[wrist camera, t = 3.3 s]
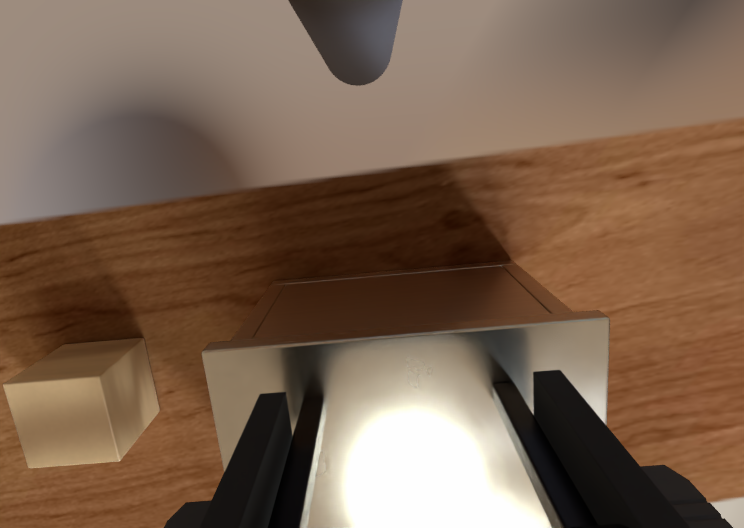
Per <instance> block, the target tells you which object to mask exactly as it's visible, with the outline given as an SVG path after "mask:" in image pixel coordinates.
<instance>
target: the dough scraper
mask: <svg viewBox="0 0 744 528" xmlns="http://www.w3.org/2000/svg"><path fill="white" fill-rule="evenodd" d="M609 334H610V319H609V317H608V316H606V315H605V314H604V313H602V312H601V311H599V310H593V311H581V312H569V313H557V314H545V315H533V316H521V317H509V318H497V319H485V320H473V321H461V322H449V323H437V324H425V325H413V326H401V327H389V328H377V329H365V330H353V331H341V332H329V333H317V334H305V335H294V336H282V337H270V338H258V339H246V340H234V341H222V342H210V343H209V344H208V345H207V346H206V347H205V348H204V350H203V351H202V358H203V364H204V369H205V374H206V379H207V384H208V390H209V395H210V400H211V405H212V410H213V416H214V421H215V426H216V431H217V437H218V442H219V447H220V452H221V457H222V463H223V468H224V472H225V470H226V468H227V466H228V463H229V461H230V459H231V457H232V454H233V452H234V450H235V448H236V446H237V443H238V441H239V439H240V437H241V435H242V432H243V430H244V428H245V426H246V423H247V421H248V419H249V417H250V415H251V412H252V410H253V408H254V406H255V403H256V401H257V399H258V397H259V395H260V394H264V393H276V392H286V395H287V402H288V409H289V415H290V422H291V429H292V436H293V437H292V440H291V444H290V448H289V451H288V455H287V459H286V462H285V466H284V470H283V473H282V477H281V481H280V484H279V488H278V492H277V495H276V499H275V503H274V506H273V510H272V513H271V517H270V521H269V524H268V528H629V527H627V526H624V525H622V524H607V525H598V524H597V522H596V520H595V519H594V517H593V515H592V514H591V512H590V510H589V508H588V507H587V505H586V503H585V502H584V500H583V498H582V497H581V495H580V493H579V491H578V490H577V488H576V486H575V485H574V483H573V481H572V480H571V478H570V476H569V475H568V473H567V471H566V469H565V468H564V466H563V464H562V463H561V461H560V459H559V458H558V456H557V454H556V452H555V451H554V449H553V447H552V446H551V444H550V442H549V441H548V439H547V437H546V435H545V434H544V432H543V430H542V429H541V427H540V425H539V424H538V422H537V420H536V419H535V417H534V406H533V372H536V371H549V370H561V371H562V372H563V374H564V375H565V376H566V377H567V379H568V380H569V381H570V382H571V383H572V385H573V386H574V387H575V388H576V389H577V391H578V392H579V393H580V394H581V396H582V397H583V398H584V399H585V400H586V402H587V403H588V404H589V405H590V406H591V408H592V409H593V410H594V411H595V413H596V414H597V415H598V416H599V417H600V419H601V420H602V421H603V422H604V423H605V425H606V424H607V394H608V364H609Z"/></svg>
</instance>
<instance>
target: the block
mask: <svg viewBox="0 0 744 528" xmlns="http://www.w3.org/2000/svg"><path fill="white" fill-rule="evenodd" d="M3 387H4V390H5V394H6V397H7V400H8V403H9V407H10V410H11V413H12V417H13V420H14V423H15V426H16V430H17V433H18V436H19V439H20V443H21V446H22V449H23V452H24V456H25V459H26V462H27V465H28V468H38V467H51V466H64V465H77V464H90V463H103V462H115V461H120V460H121V459H122V458H123V456H124V455H125V454H126V453H127V451H128V450H129V449H130V448H131V446H132V445H133V444H134V443H135V441H136V440H137V439H138V438H139V436H140V435H141V434H142V433H143V431H144V430H145V429H146V428H147V426H148V425H149V424H150V423H151V421H152V420H153V419H154V417H155V416H156V415H157V414H158V412H159V411H160V409H159V404H158V400H157V395H156V391H155V386H154V382H153V377H152V373H151V368H150V363H149V359H148V354H147V350H146V345H145V341H144V338H135V339H123V340H111V341H99V342H87V343H75V344H64V345H62V346H61V347H59V348H58V349H56V350H54V351H53V352H51V353H50V354H48V355H47V356H45V357H44V358H42V359H41V360H39V361H38V362H36V363H34V364H33V365H31V366H30V367H28V368H27V369H25V370H24V371H22V372H21V373H19V374H18V375H16V376H15V377H13V378H11V379H10V380H8V381H7V382H5V383H4V384H3Z"/></svg>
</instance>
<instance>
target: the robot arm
mask: <svg viewBox="0 0 744 528" xmlns="http://www.w3.org/2000/svg"><path fill="white" fill-rule="evenodd" d="M533 406H534V417H535V419H536V420H537V422H538V424H539V425H540V427H541V429H542V430H543V432H544V434H545V435H546V437H547V439H548V441H549V442H550V444H551V446H552V447H553V449H554V451H555V452H556V454H557V456H558V458H559V459H560V461H561V463H562V464H563V466H564V468H565V469H566V471H567V473H568V475H569V476H570V478H571V480H572V481H573V483H574V485H575V486H576V488H577V490H578V491H579V493H580V495H581V497H582V498H583V500H584V502H585V503H586V505H587V507H588V508H589V510H590V512H591V514H592V515H593V517H594V519H595V520H596V522H597V524H598V525H607V524H622V525H624V526H627V527H629V528H733V527H732V526H731V525H730V524H729V523H728V522H727V521H726V520H725V519H722V518H721V514H720V513H719V512H718V511H717V510H716V509H715V508H714V507H713V506H712V505H711V504H710V503H707V501H706V498H705V497H704V496H703V495H702V494H701V493H700V492H699V491H698V490H697V489H696V488H695V486H694V485H693V484H692V483H691V482H690V481H689V480H688V479H686V478H684V477H683V476H681V475H680V474H678V473H676V472H675V471H673V470H672V469H670V468H668V467H667V466H665V465H655V466H642V467H640V466H639V465H638V464H637V462H636V461H635V460H634V459H633V457H632V456H631V455H630V454H629V453H628V451H627V450H626V449H625V448H624V447H623V445H622V444H621V443H620V442H619V440H618V439H617V438H616V437H615V436H614V434H613V433H612V432H611V431H610V430H609V428H608V427H607V426H606V425H605V423H604V422H603V421H602V420H601V419H600V417H599V416H598V415H597V414H596V413H595V411H594V410H593V409H592V408H591V406H590V405H589V404H588V403H587V402H586V400H585V399H584V398H583V397H582V396H581V394H580V393H579V392H578V391H577V389H576V388H575V387H574V386H573V385H572V383H571V382H570V381H569V380H568V379H567V377H566V376H565V375H564V374H563V372H562V371H561V370H549V371H536V372H533ZM292 437H293V436H292V429H291V422H290V415H289V409H288V402H287V395H286V392H276V393H264V394H260V395H259V397H258V399H257V401H256V403H255V406H254V408H253V410H252V412H251V415H250V417H249V419H248V421H247V423H246V426H245V428H244V430H243V432H242V435H241V437H240V439H239V441H238V443H237V446H236V448H235V450H234V452H233V454H232V457H231V459H230V461H229V463H228V466H227V468H226V470H225V472H224V474H223V477H222V479H221V481H220V483H219V486H218V488H217V490H216V492H215V494H214V497H213V499H212V501H200V502H187V503H185V504H184V505H183V506H182V507H181V508H180V509H179V510H178V511H177V512H176V513H175V514H174V515H173V516H172V517H171V518H170V519H169V520H168V521H167V523H166V525H165V527H164V528H268V524H269V521H270V517H271V513H272V510H273V506H274V503H275V499H276V495H277V492H278V488H279V484H280V481H281V477H282V473H283V470H284V466H285V462H286V459H287V455H288V451H289V448H290V444H291V440H292Z"/></svg>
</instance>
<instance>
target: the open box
mask: <svg viewBox="0 0 744 528" xmlns="http://www.w3.org/2000/svg"><path fill="white" fill-rule="evenodd" d="M569 312H573V311H572V310H571V309H569V308H568V307H567V306H566V305H565V304H563V303H562V302H561V301H560V300H559V299H557V298H556V297H555V296H554V295H553V294H552V293H550V292H549V291H548V290H547V289H546V288H544V287H543V286H542V285H541V284H540V283H538V282H537V281H536V280H535V279H534V278H533V277H531V276H530V275H529V274H528V273H527V272H525V271H524V270H523V269H522V268H521V267H520V266H518V265H517V264H516V263H515V262H514V261H512V260H510V261H498V262H486V263H475V264H463V265H452V266H440V267H429V268H417V269H406V270H394V271H382V272H371V273H359V274H348V275H336V276H325V277H313V278H301V279H290V280H278V281H273V282H272V284H271V285H270V287H269V288H268V289H267V291H266V292H265V294H264V295H263V296H262V298H261V299H260V300H259V302H258V303H257V305H256V306H255V307H254V309H253V310H252V312H251V313H250V314H249V316H248V317H247V319H246V320H245V321H244V323H243V324H242V325H241V327H240V328H239V330H238V331H237V332H236V334H235V335H234V337H233V338H232V339H231V341H234V340H246V339H258V338H270V337H282V336H294V335H305V334H317V333H329V332H341V331H353V330H365V329H377V328H389V327H401V326H413V325H425V324H437V323H449V322H461V321H473V320H485V319H497V318H509V317H521V316H533V315H545V314H557V313H569Z"/></svg>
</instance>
